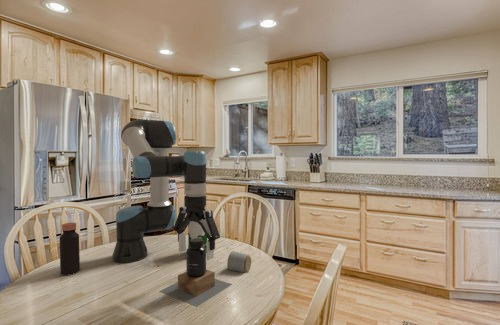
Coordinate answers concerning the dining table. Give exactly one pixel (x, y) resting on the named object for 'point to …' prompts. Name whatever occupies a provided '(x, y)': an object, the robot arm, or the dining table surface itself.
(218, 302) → the dining table surface
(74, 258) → the vinegar
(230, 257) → the ceramic mug
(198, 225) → the milk carton
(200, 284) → the walnut block
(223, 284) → the mat
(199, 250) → the supplement bottle
